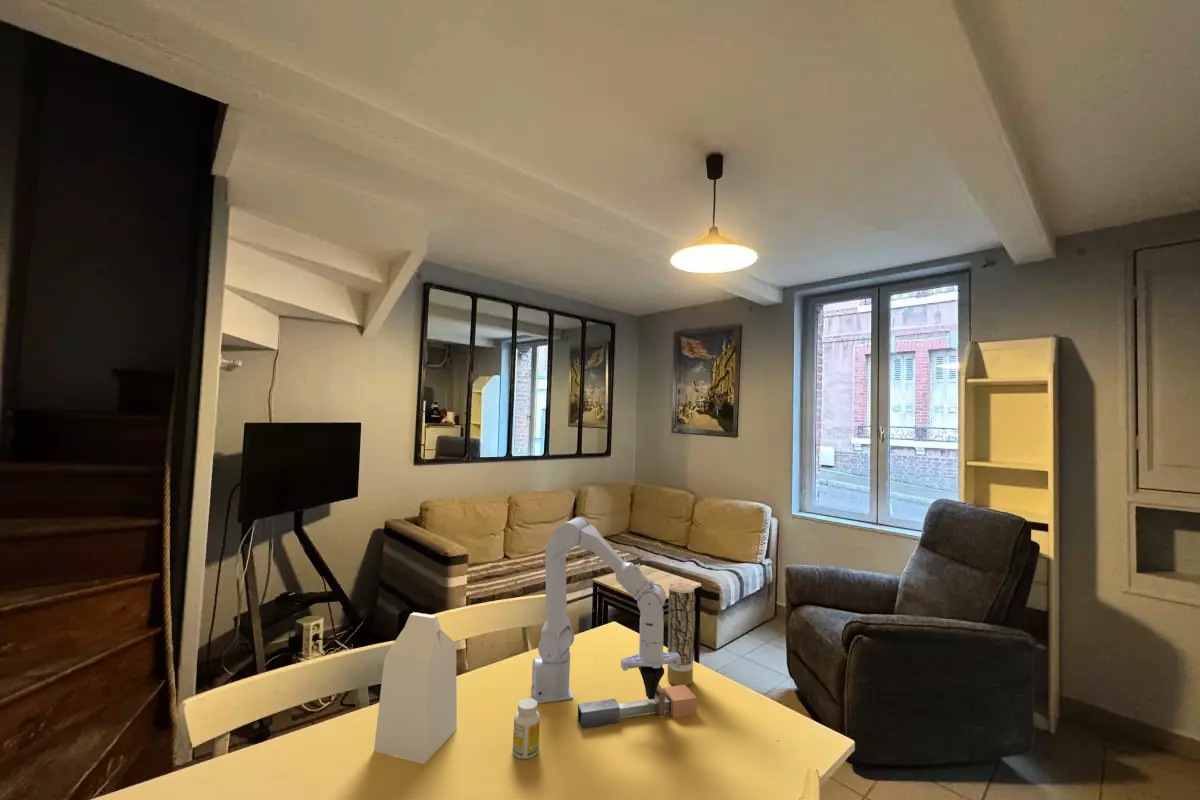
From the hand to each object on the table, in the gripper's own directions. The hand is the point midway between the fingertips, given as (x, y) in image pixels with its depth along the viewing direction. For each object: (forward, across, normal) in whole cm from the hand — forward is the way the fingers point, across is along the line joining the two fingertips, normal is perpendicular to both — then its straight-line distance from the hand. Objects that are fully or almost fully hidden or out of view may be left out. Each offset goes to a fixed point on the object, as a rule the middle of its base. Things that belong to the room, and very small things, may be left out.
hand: (650, 696), depth 113 cm
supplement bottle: (+4, -30, -6) cm, 31 cm away
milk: (+4, -52, +3) cm, 53 cm away
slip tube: (+4, -4, 0) cm, 5 cm away
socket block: (+4, +8, 0) cm, 9 cm away
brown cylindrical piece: (+4, +14, +12) cm, 19 cm away
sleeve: (+4, -13, 0) cm, 13 cm away
